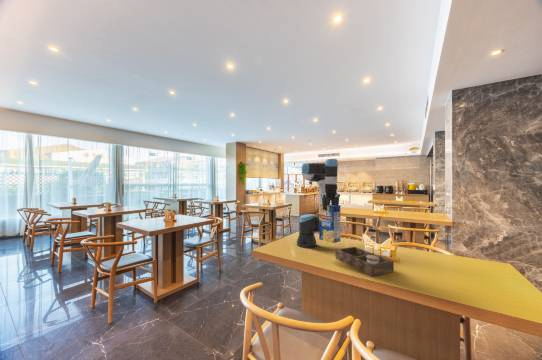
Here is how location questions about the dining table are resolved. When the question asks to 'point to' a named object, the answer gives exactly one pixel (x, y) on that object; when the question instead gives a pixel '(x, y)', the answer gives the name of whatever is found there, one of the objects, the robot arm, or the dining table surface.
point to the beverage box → (329, 223)
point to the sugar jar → (372, 259)
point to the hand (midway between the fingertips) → (330, 221)
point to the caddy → (364, 261)
